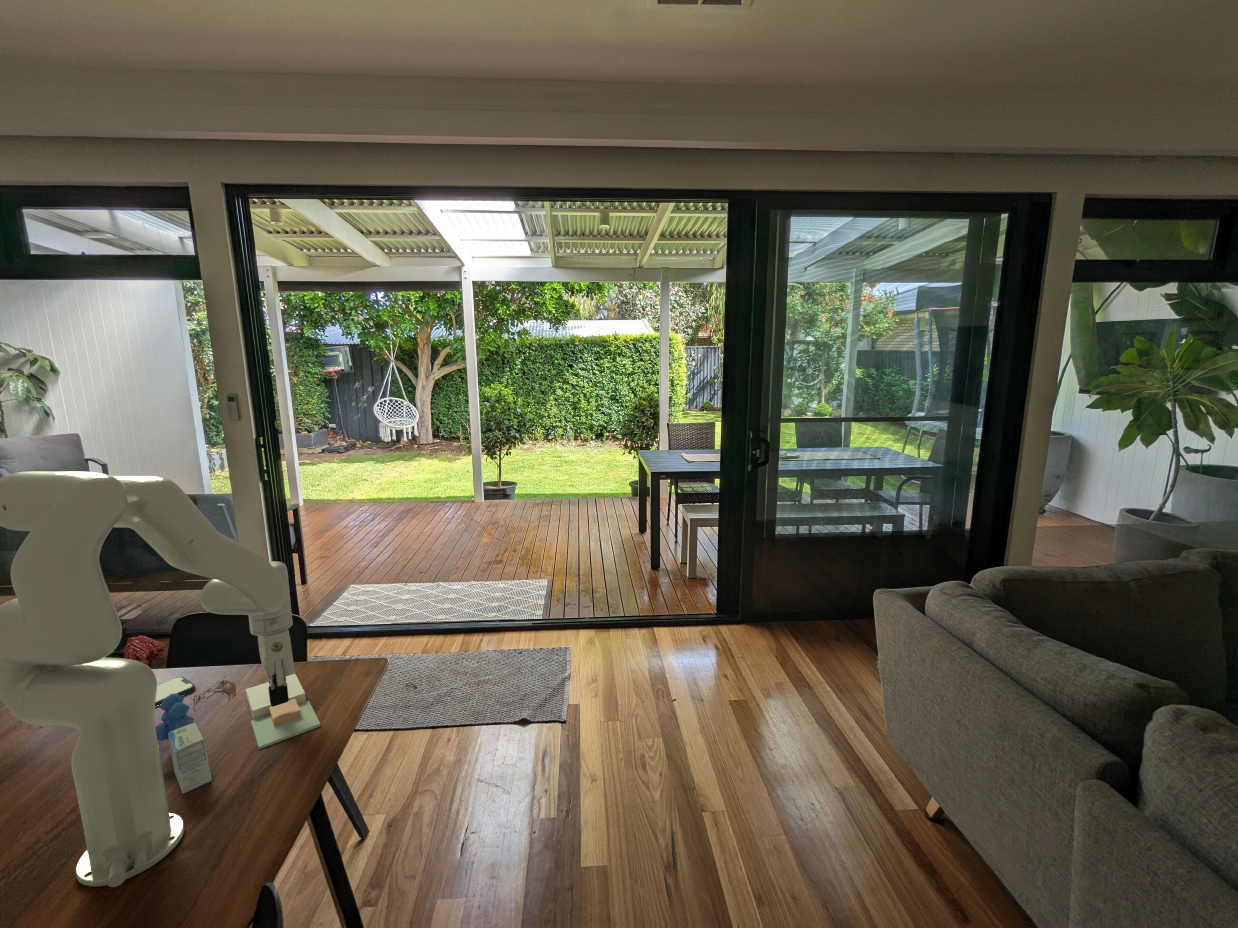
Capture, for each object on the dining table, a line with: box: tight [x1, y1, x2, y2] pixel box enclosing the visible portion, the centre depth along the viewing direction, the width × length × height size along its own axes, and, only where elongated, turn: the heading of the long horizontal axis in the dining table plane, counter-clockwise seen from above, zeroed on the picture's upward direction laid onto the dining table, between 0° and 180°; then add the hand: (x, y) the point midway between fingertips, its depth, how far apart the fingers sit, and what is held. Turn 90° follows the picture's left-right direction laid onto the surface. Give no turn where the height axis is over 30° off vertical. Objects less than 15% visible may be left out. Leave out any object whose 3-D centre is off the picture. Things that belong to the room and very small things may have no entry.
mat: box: [250, 700, 321, 750], centre depth 115 cm, size 11×11×1 cm
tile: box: [269, 698, 301, 726], centre depth 118 cm, size 6×5×2 cm
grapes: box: [155, 693, 195, 742], centre depth 106 cm, size 12×7×12 cm, turn 54°
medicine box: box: [168, 721, 213, 794], centre depth 100 cm, size 8×4×9 cm, turn 47°
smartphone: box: [155, 676, 196, 706], centre depth 125 cm, size 9×2×16 cm
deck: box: [245, 673, 307, 720], centre depth 124 cm, size 11×10×2 cm
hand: (279, 702), depth 116 cm, fingers closed
